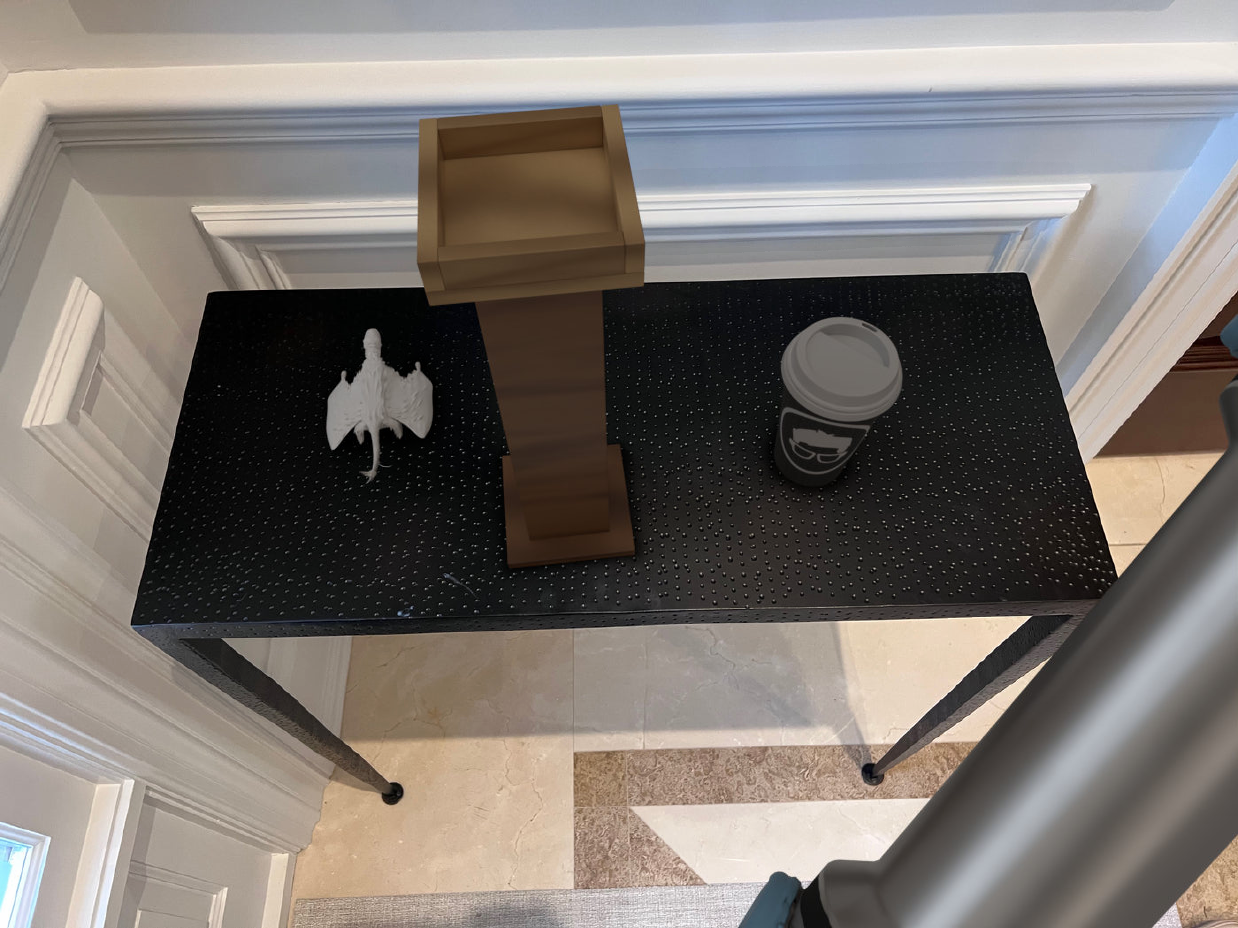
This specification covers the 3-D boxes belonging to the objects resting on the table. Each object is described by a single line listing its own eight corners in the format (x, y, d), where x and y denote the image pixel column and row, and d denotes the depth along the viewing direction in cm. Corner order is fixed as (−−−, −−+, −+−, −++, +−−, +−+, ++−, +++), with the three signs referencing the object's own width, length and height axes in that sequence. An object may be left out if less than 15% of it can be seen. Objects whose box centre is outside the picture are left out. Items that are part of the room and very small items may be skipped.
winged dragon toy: (438, 494, 72) (428, 471, 69) (325, 509, 71) (309, 487, 68) (431, 343, 81) (422, 316, 78) (331, 355, 81) (317, 328, 77)
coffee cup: (881, 472, 73) (936, 372, 60) (798, 518, 71) (837, 425, 58) (818, 400, 77) (856, 292, 65) (737, 441, 75) (761, 338, 62)
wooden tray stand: (635, 554, 69) (645, 242, 38) (509, 569, 68) (416, 263, 37) (619, 449, 75) (618, 103, 44) (503, 461, 74) (418, 118, 43)
